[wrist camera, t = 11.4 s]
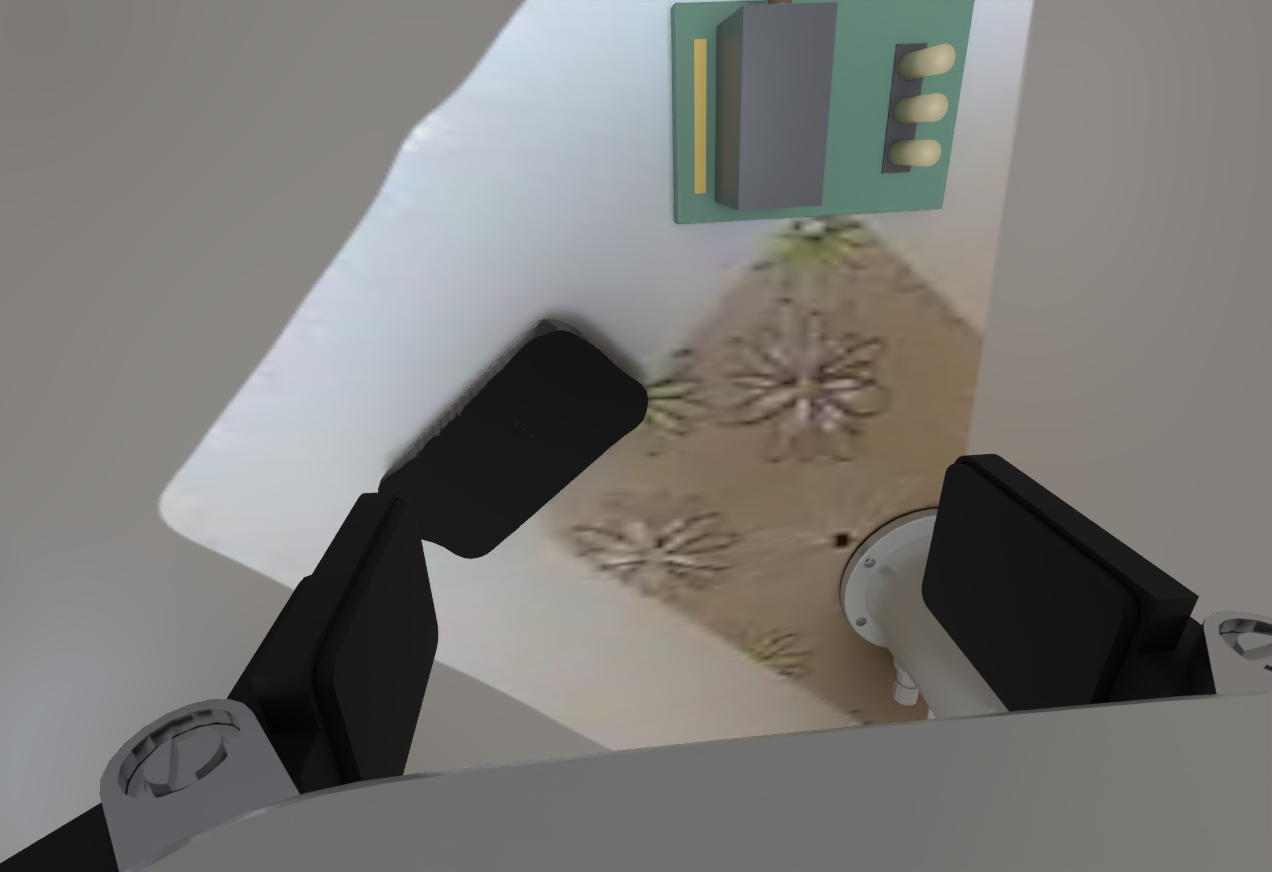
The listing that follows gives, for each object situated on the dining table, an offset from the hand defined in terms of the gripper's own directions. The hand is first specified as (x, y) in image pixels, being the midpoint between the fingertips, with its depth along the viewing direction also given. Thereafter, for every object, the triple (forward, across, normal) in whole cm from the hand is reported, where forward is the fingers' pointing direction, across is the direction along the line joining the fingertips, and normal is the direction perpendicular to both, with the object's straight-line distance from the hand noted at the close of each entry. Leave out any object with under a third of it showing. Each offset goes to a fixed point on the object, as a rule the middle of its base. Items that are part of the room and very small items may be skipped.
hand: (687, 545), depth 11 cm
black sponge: (+28, +6, +10) cm, 30 cm away
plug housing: (+26, -8, -9) cm, 29 cm away
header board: (+27, -11, -8) cm, 31 cm away
